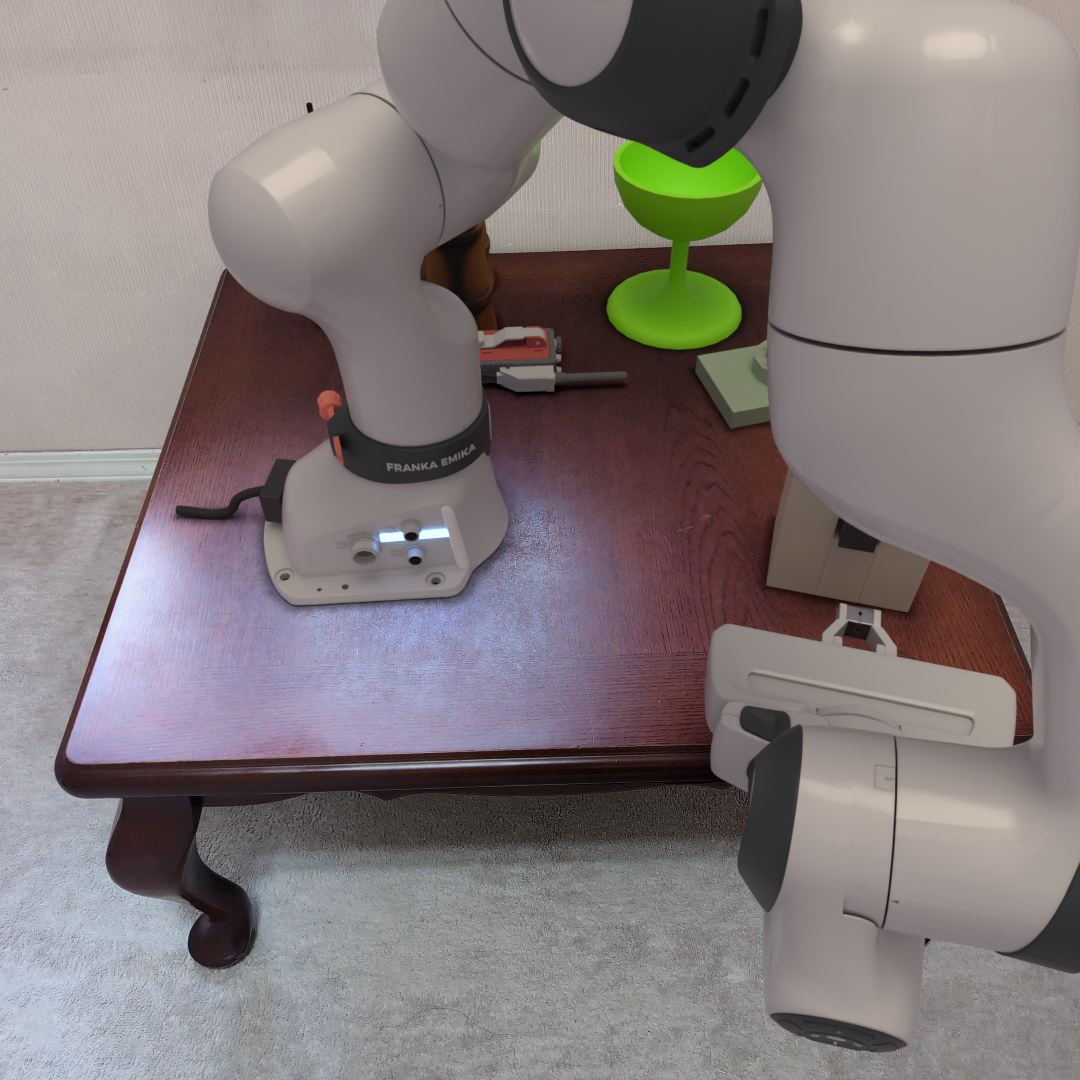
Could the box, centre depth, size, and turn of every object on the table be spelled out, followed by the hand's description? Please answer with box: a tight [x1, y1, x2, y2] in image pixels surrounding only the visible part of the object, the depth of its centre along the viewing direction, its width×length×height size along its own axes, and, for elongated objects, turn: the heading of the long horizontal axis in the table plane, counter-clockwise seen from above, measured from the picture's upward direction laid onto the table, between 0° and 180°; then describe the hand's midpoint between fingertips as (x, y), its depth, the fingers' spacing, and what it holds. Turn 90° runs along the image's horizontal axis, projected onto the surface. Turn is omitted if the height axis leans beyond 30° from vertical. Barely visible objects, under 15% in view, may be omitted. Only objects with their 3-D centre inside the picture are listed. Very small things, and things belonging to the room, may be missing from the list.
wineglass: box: [605, 140, 764, 351], centre depth 106 cm, size 16×16×18 cm
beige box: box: [765, 466, 931, 613], centre depth 79 cm, size 12×8×14 cm, turn 75°
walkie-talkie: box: [478, 325, 629, 393], centre depth 103 cm, size 9×4×20 cm
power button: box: [838, 519, 879, 553], centre depth 75 cm, size 3×2×3 cm
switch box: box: [694, 339, 771, 429], centre depth 100 cm, size 12×10×4 cm
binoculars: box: [425, 220, 498, 331], centre depth 106 cm, size 18×8×20 cm, turn 4°
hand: (858, 611), depth 69 cm, fingers closed
